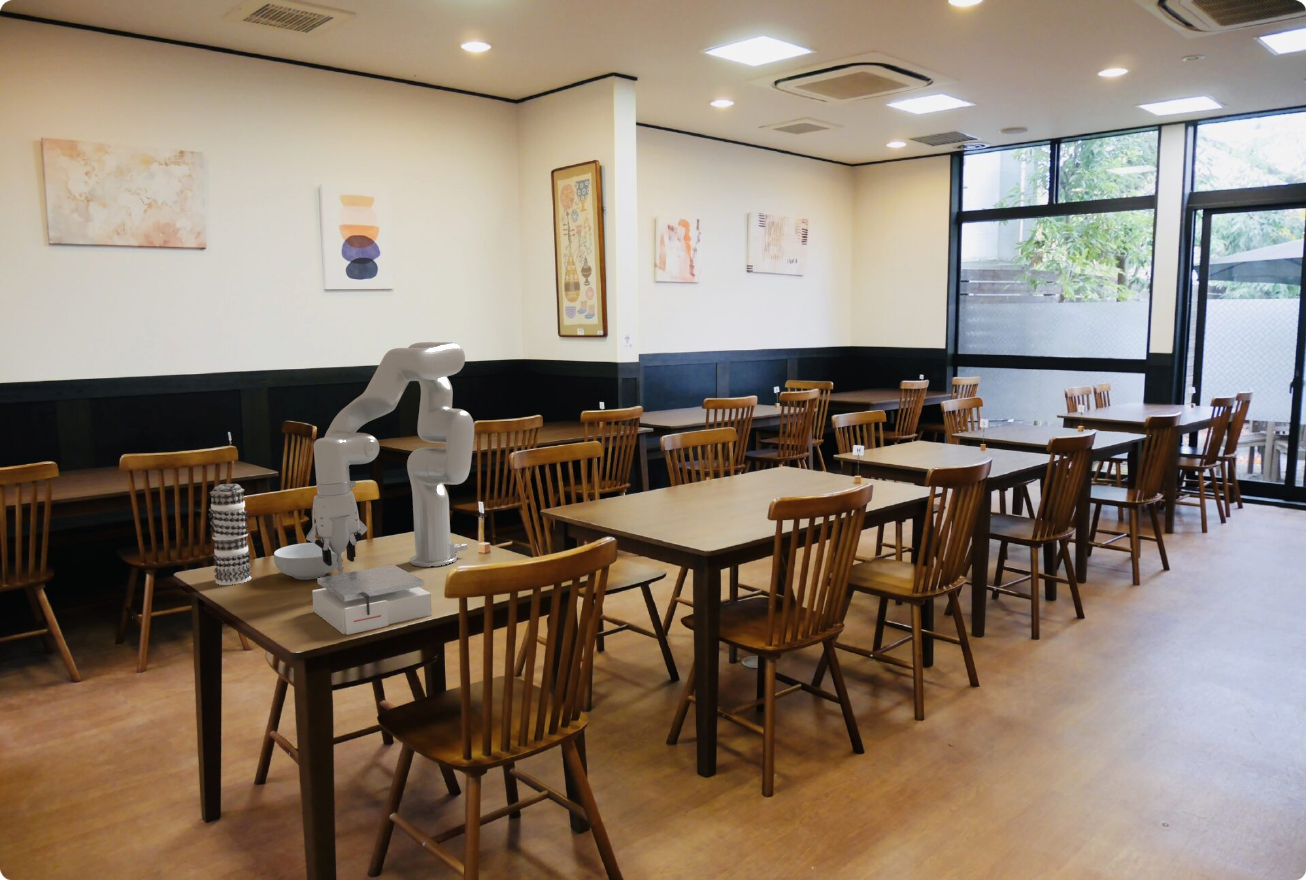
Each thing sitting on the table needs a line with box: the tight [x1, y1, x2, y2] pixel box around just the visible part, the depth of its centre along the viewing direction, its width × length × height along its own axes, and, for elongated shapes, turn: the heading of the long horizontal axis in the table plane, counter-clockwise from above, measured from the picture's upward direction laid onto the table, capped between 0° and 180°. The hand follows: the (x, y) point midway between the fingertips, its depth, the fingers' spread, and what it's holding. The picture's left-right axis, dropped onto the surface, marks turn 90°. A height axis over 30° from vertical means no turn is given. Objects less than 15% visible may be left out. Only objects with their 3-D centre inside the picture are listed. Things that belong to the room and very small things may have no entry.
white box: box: [316, 564, 425, 615], centre depth 208 cm, size 18×21×6 cm
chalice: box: [329, 515, 351, 574], centre depth 224 cm, size 7×7×18 cm
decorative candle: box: [207, 483, 252, 586], centre depth 237 cm, size 9×9×25 cm
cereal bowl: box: [273, 542, 344, 581], centre depth 242 cm, size 17×17×7 cm
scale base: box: [311, 587, 433, 635], centre depth 209 cm, size 20×21×6 cm
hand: (339, 561), depth 224 cm, fingers closed on chalice, 4 cm apart
